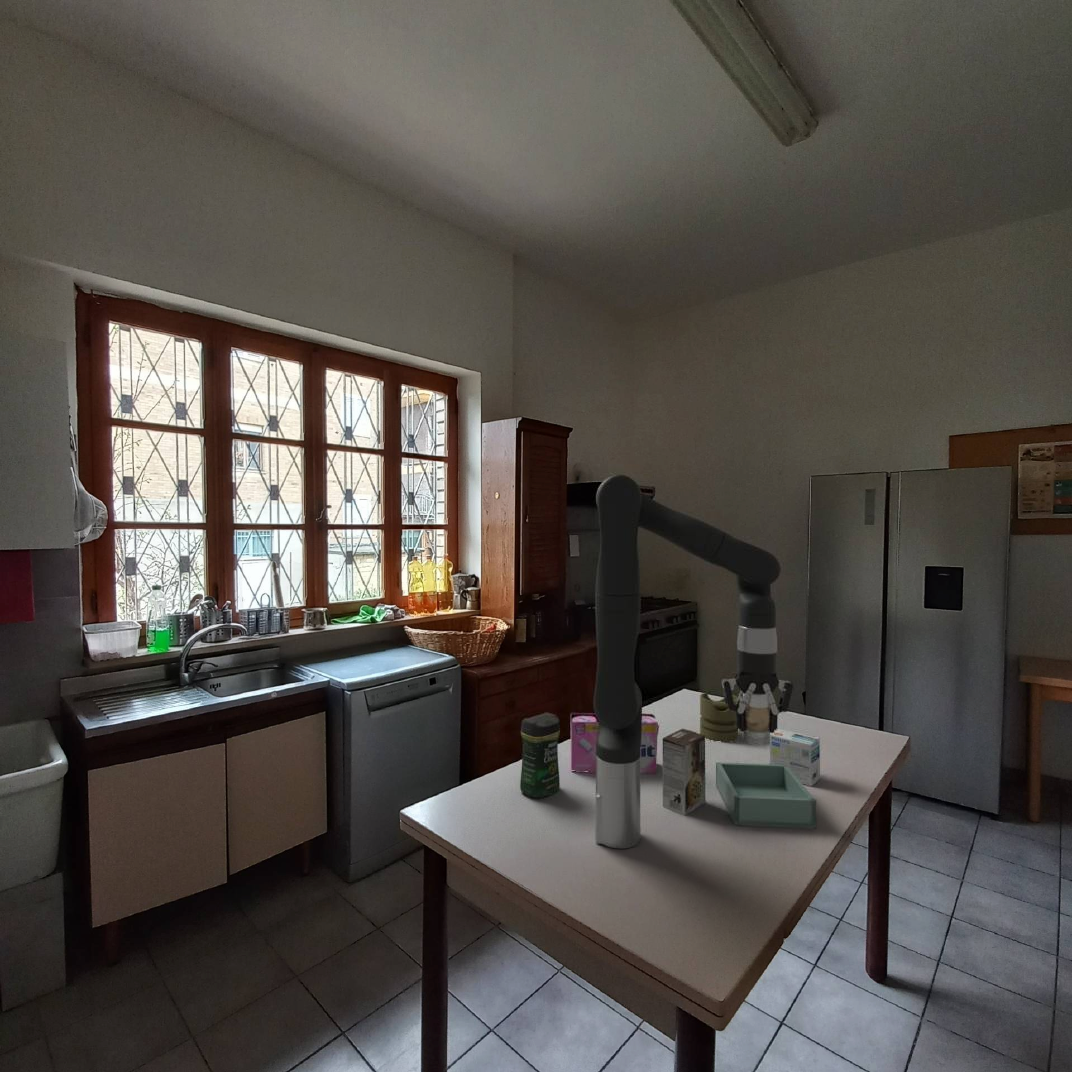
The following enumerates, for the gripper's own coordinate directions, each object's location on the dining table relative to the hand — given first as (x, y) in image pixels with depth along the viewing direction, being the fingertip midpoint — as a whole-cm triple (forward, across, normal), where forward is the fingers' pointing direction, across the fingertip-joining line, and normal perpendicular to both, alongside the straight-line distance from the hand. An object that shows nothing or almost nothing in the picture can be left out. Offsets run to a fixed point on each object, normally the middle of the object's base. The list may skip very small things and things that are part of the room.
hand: (756, 730), depth 119 cm
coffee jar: (+24, -46, +20) cm, 55 cm away
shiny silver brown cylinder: (+2, 0, 0) cm, 2 cm away
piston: (+24, +6, +63) cm, 68 cm away
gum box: (+24, -28, +36) cm, 51 cm away
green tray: (+23, +6, +17) cm, 29 cm away
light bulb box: (+23, +19, +34) cm, 46 cm away
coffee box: (+24, -12, +16) cm, 31 cm away
